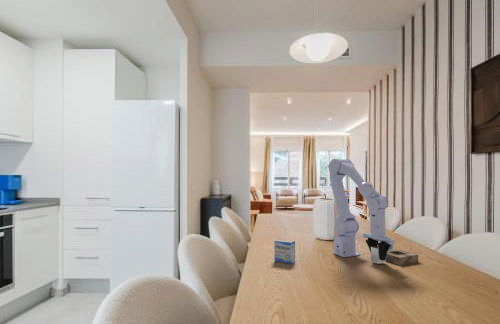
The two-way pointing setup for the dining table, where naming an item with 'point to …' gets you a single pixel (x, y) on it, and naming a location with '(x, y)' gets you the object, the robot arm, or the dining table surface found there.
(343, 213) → the robot arm
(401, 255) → the walnut bore block
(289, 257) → the medicine box
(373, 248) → the square bit
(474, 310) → the dining table surface
